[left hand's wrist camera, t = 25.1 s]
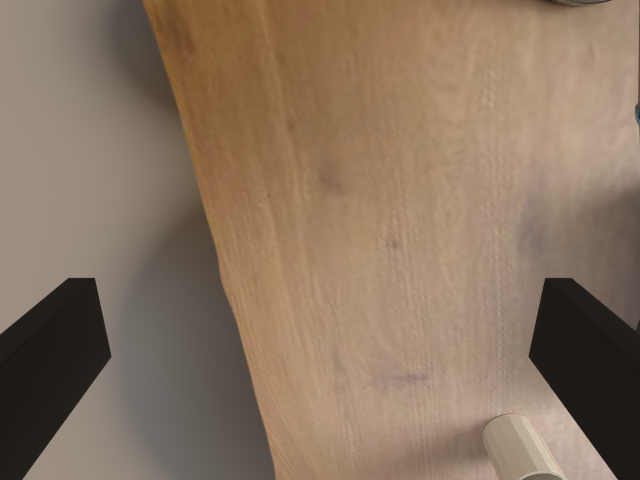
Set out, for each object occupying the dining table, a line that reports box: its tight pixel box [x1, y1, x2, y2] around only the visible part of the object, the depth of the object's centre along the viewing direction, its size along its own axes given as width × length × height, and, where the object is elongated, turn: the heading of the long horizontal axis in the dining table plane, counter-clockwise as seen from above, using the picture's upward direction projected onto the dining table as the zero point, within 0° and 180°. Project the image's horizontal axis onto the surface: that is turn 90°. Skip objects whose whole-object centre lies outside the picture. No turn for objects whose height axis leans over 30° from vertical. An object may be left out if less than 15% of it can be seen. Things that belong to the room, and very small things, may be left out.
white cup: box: [482, 414, 567, 480], centre depth 56 cm, size 7×7×9 cm
